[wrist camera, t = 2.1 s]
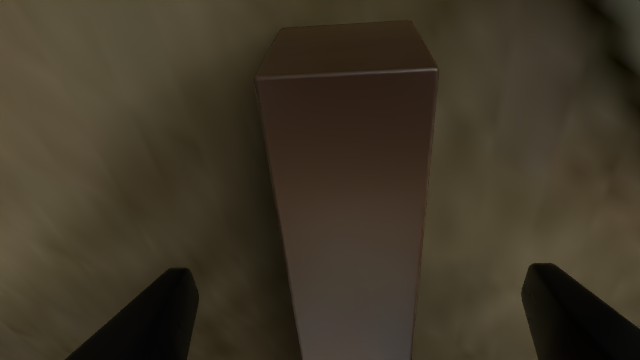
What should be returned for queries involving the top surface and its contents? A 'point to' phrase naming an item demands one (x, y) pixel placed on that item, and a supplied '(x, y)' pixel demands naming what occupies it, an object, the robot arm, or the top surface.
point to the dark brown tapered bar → (350, 180)
